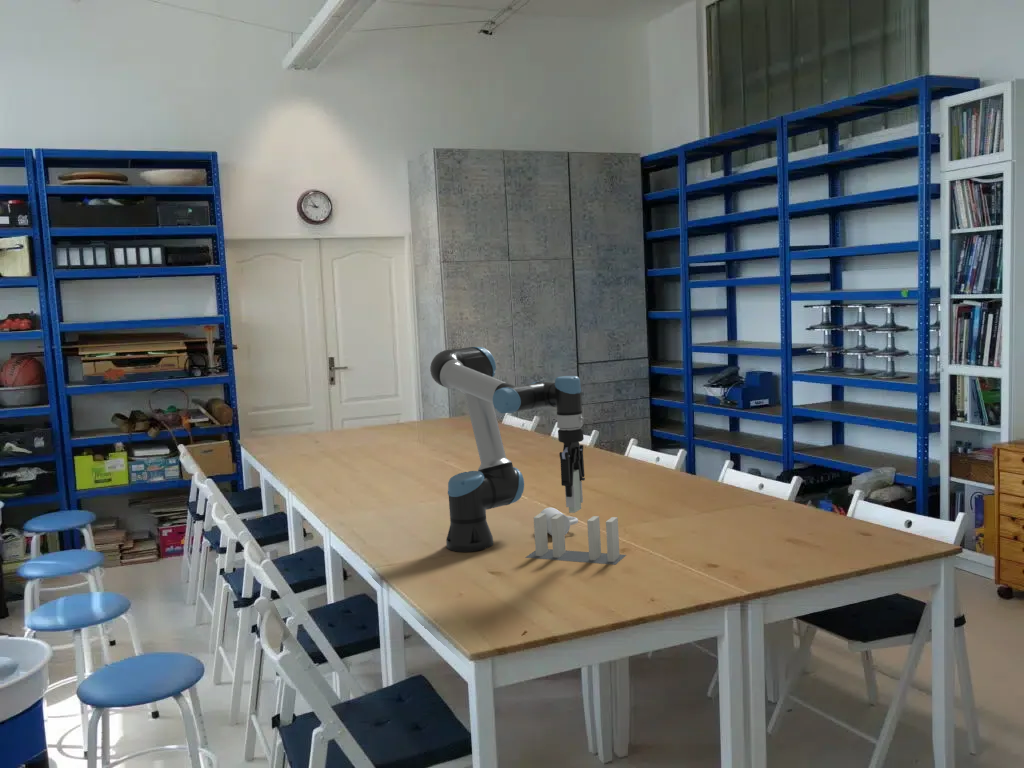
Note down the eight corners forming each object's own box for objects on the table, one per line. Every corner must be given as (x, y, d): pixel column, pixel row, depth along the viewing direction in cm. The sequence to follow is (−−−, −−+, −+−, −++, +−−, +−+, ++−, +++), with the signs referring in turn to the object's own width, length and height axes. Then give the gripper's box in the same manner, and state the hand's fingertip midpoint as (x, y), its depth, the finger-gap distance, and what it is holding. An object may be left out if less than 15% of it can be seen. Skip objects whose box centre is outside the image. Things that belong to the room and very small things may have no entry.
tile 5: (607, 561, 268) (605, 521, 267) (613, 556, 273) (611, 517, 272) (613, 562, 267) (611, 521, 266) (619, 556, 272) (617, 517, 271)
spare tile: (569, 512, 272) (566, 472, 270) (575, 508, 276) (573, 469, 275) (574, 512, 271) (572, 473, 270) (581, 508, 276) (579, 469, 275)
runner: (525, 558, 277) (524, 557, 277) (538, 549, 286) (538, 548, 286) (615, 565, 265) (615, 564, 265) (626, 555, 274) (626, 554, 274)
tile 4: (589, 560, 271) (587, 520, 269) (595, 554, 275) (593, 516, 274) (595, 560, 270) (592, 520, 269) (601, 555, 275) (599, 516, 273)
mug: (547, 539, 298) (546, 515, 297) (538, 531, 307) (537, 508, 306) (582, 534, 301) (581, 510, 300) (572, 527, 310) (571, 504, 309)
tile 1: (535, 555, 278) (533, 517, 277) (542, 550, 283) (540, 513, 282) (541, 556, 277) (538, 517, 276) (548, 551, 282) (546, 513, 281)
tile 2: (553, 557, 276) (551, 518, 274) (560, 552, 280) (558, 514, 279) (558, 557, 275) (556, 518, 274) (565, 552, 280) (563, 514, 278)
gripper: (570, 433, 261) (575, 512, 264) (593, 423, 278) (596, 498, 280) (546, 433, 265) (551, 511, 267) (570, 423, 281) (574, 497, 283)
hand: (574, 504), depth 274 cm, fingers closed on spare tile, 5 cm apart
